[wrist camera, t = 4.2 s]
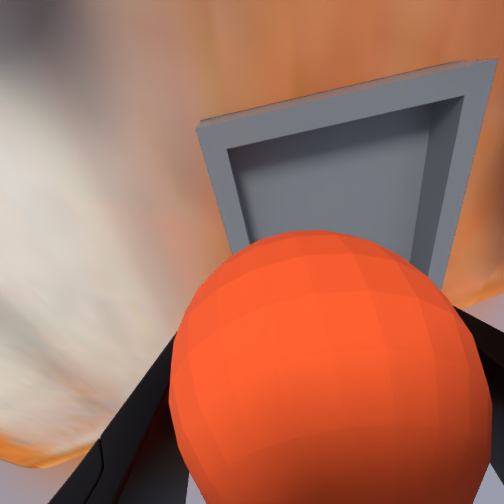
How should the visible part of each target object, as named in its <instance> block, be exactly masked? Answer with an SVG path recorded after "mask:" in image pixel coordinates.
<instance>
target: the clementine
mask: <svg viewBox="0 0 504 504" xmlns="http://www.w3.org/2000/svg"><path fill="white" fill-rule="evenodd" d="M169 407H170V411H171V416H172V421H173V425H174V430H175V434H176V439H177V444H178V448H179V450H180V452H181V455H182V457H183V460H184V462H185V464H186V466H187V468H188V470H189V472H190V474H191V475H192V477H193V479H194V481H195V483H196V485H197V487H198V488H199V490H200V492H201V494H202V496H203V498H204V500H205V501H206V503H207V504H473V501H474V499H475V497H476V494H477V492H478V489H479V487H480V484H481V482H482V480H483V477H484V475H485V472H486V470H487V468H488V465H489V463H490V460H491V435H492V401H491V397H490V392H489V387H488V383H487V380H486V377H485V374H484V370H483V367H482V364H481V361H480V357H479V354H478V351H477V348H476V344H475V341H474V338H473V335H472V333H471V332H470V331H469V329H468V328H467V326H466V325H465V323H464V322H463V320H462V319H461V317H460V316H459V315H458V313H457V312H456V310H455V309H454V307H453V306H452V304H451V303H450V301H449V300H448V299H447V297H446V296H445V295H444V294H443V293H442V292H441V291H440V290H439V289H438V287H437V286H436V285H435V284H434V283H433V282H432V281H431V280H430V279H429V277H427V276H426V275H425V274H423V273H422V272H421V271H420V270H418V269H417V268H416V267H414V266H413V265H412V264H410V263H409V262H408V261H407V260H405V259H404V258H403V257H401V256H400V255H398V254H396V253H394V252H392V251H390V250H388V249H386V248H384V247H382V246H380V245H378V244H376V243H374V242H372V241H369V240H365V239H362V238H358V237H355V236H351V235H346V234H341V233H336V232H330V231H325V230H307V231H289V232H286V233H282V234H279V235H275V236H272V237H268V238H265V239H261V240H258V241H256V242H255V243H253V244H251V245H249V246H247V247H246V248H244V249H242V250H240V251H238V252H237V253H235V254H233V255H232V256H231V257H230V258H229V259H228V260H227V261H226V262H224V263H223V264H222V265H221V266H220V267H219V268H218V269H217V270H216V271H215V272H214V273H213V274H212V275H211V276H210V277H209V278H208V279H207V280H206V281H205V282H204V283H203V284H202V285H201V286H200V287H199V288H198V290H197V292H196V294H195V296H194V297H193V299H192V301H191V303H190V305H189V306H188V308H187V310H186V312H185V314H184V317H183V319H182V322H181V324H180V327H179V329H178V332H177V334H176V337H175V339H174V345H173V353H172V362H171V374H170V388H169Z"/></svg>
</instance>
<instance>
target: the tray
mask: <svg viewBox="0 0 504 504" xmlns="http://www.w3.org/2000/svg"><path fill="white" fill-rule="evenodd" d="M497 62H498V59H486V60H472V61H458V62H450V63H445V64H441V65H437V66H432V67H428V68H424V69H420V70H415V71H411V72H407V73H402V74H398V75H394V76H389V77H385V78H381V79H377V80H372V81H368V82H364V83H359V84H355V85H351V86H347V87H342V88H338V89H334V90H329V91H325V92H321V93H317V94H312V95H308V96H304V97H299V98H295V99H291V100H286V101H282V102H278V103H274V104H269V105H265V106H261V107H256V108H252V109H248V110H244V111H239V112H235V113H231V114H226V115H222V116H218V117H214V118H209V119H205V120H201V122H200V123H199V125H198V126H197V128H196V132H197V135H198V138H199V142H200V145H201V149H202V152H203V156H204V159H205V163H206V166H207V169H208V173H209V176H210V180H211V183H212V187H213V190H214V194H215V197H216V200H217V204H218V207H219V211H220V214H221V218H222V221H223V225H224V228H225V231H226V235H227V238H228V242H229V245H230V249H231V252H232V255H233V254H235V253H237V252H238V251H240V250H242V249H244V248H246V247H247V246H249V245H251V244H253V243H255V242H256V241H258V240H261V239H265V238H268V237H272V236H275V235H279V234H282V233H286V232H289V231H307V230H325V231H330V232H336V233H341V234H346V235H351V236H355V237H358V238H362V239H365V240H369V241H372V242H374V243H376V244H378V245H380V246H382V247H384V248H386V249H388V250H390V251H392V252H394V253H396V254H398V255H400V256H401V257H403V258H404V259H405V260H407V261H408V262H409V263H410V264H412V265H413V266H414V267H416V268H417V269H418V270H420V271H421V272H422V273H423V274H425V275H426V276H427V277H429V279H430V280H431V281H432V282H433V283H434V284H435V285H436V286H437V287H438V289H439V290H441V289H442V285H443V280H444V276H445V272H446V268H447V264H448V260H449V256H450V252H451V248H452V244H453V240H454V236H455V232H456V228H457V224H458V220H459V216H460V212H461V208H462V203H463V199H464V195H465V191H466V187H467V183H468V179H469V175H470V171H471V167H472V163H473V159H474V155H475V151H476V147H477V143H478V139H479V135H480V131H481V126H482V122H483V118H484V114H485V110H486V106H487V102H488V98H489V94H490V90H491V86H492V82H493V78H494V74H495V70H496V66H497Z"/></svg>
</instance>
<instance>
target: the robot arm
mask: <svg viewBox="0 0 504 504" xmlns="http://www.w3.org/2000/svg"><path fill="white" fill-rule="evenodd" d="M452 306H453V305H452ZM453 307H454V309H455V310H456V312H457V313H458V315H459V316H460V317H461V319H462V320H463V322H464V323H465V325H466V326H467V328H468V329H469V331H470V332H471V333H472V335H473V338H474V341H475V344H476V348H477V351H478V354H479V357H480V361H481V364H482V367H483V370H484V374H485V377H486V380H487V383H488V387H489V392H490V397H491V401H492V435H491V460H490V463H491V465H492V467H493V468H494V470H495V472H496V473H497V475H498V477H499V478H500V480H501V481H502V483H503V485H504V332H501V331H500V330H498V329H496V328H494V327H492V326H490V325H488V324H486V323H485V322H483V321H481V320H479V319H477V318H475V317H473V316H472V315H470V314H468V313H466V312H464V311H462V310H460V309H458V308H457V307H455V306H453ZM177 332H178V331H177ZM177 332H176V334H177ZM176 334H175V335H174V336H173V338H172V339H171V340H170V342H169V343H168V344H167V346H166V347H165V349H164V350H163V351H162V353H161V354H160V355H159V357H158V358H157V359H156V361H155V362H154V364H153V365H152V366H151V368H150V369H149V370H148V372H147V373H146V374H145V376H144V377H143V379H142V380H141V381H140V383H139V384H138V385H137V387H136V388H135V389H134V391H133V392H132V394H131V395H130V396H129V398H128V399H127V400H126V402H125V403H124V404H123V406H122V407H121V409H120V410H119V411H118V413H117V414H116V415H115V417H114V418H113V419H112V421H111V422H110V424H109V425H108V426H107V428H106V429H105V430H104V432H103V433H102V434H101V437H100V438H99V439H98V440H97V441H96V442H95V444H94V445H93V447H92V448H91V449H90V451H89V452H88V453H87V455H86V456H85V457H84V459H83V460H82V461H81V463H80V464H79V465H78V466H77V468H76V469H75V471H74V472H73V473H72V474H71V476H70V477H69V478H68V479H67V481H66V482H65V483H64V484H63V486H62V487H61V488H60V489H59V490H58V492H57V493H56V494H55V495H54V497H53V498H52V499H51V500H50V502H49V503H48V504H185V503H186V495H187V487H188V478H189V470H188V468H187V466H186V464H185V462H184V460H183V457H182V455H181V452H180V450H179V448H178V444H177V439H176V434H175V430H174V425H173V421H172V416H171V411H170V407H169V388H170V374H171V362H172V353H173V345H174V339H175V337H176Z"/></svg>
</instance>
